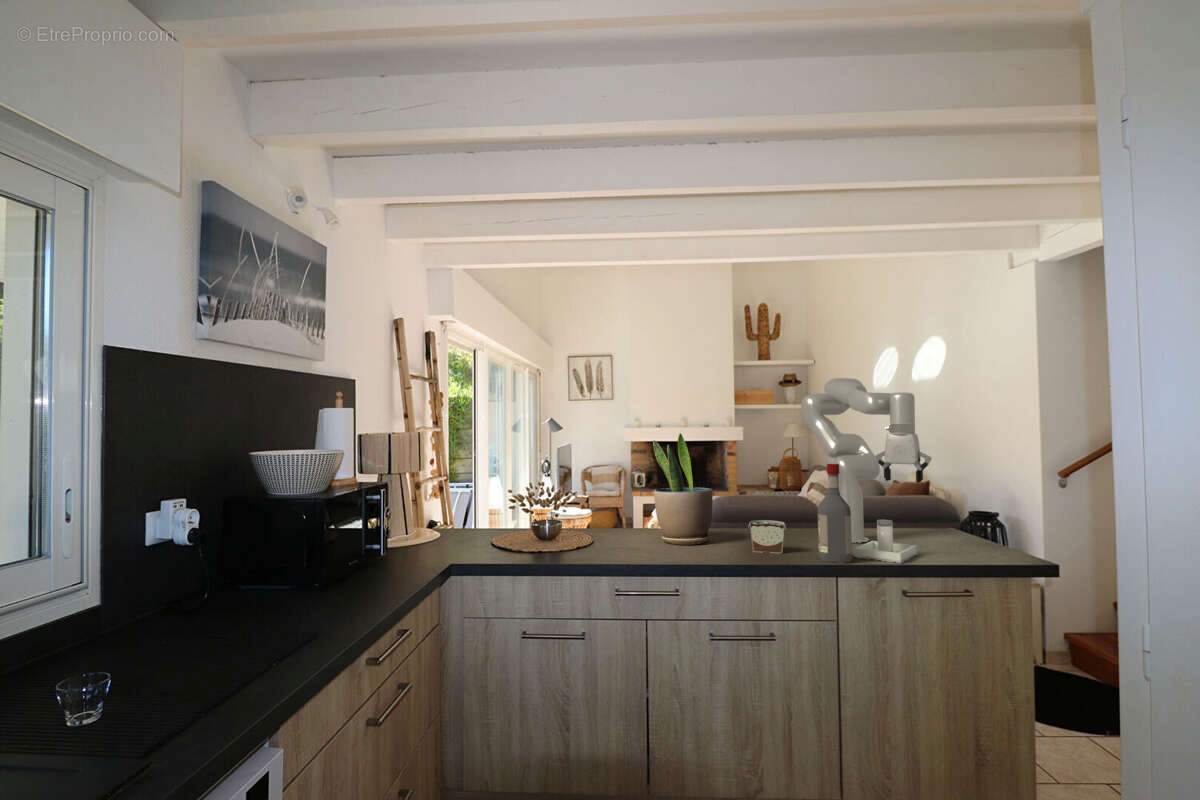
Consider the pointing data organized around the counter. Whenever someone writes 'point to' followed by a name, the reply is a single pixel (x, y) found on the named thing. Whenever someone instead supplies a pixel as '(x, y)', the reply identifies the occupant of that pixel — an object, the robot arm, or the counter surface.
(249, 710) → the counter surface
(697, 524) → the potted plant
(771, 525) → the food container
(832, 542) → the liquor
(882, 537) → the shaker
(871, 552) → the tray
